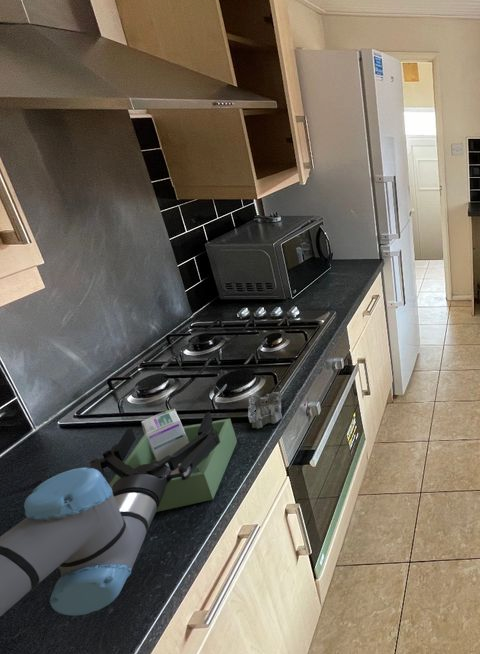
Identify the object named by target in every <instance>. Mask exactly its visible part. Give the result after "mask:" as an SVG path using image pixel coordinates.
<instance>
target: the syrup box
mask: <svg viewBox="0 0 480 654" xmlns="http://www.w3.org/2000/svg"><path fill="white" fill-rule="evenodd" d="M141 426H142V430H143V433H144V434H145V435H146V438H147V440H148V442H149V445H150V447H151V450H152V452H153V454H154V457H155V459H156V461H160V460H161V459H163V458H164V457H166V456H167V455H172V454H174V453H175V452H176V451H178V450H179V449H181V448H182V447H183V446H185V445H186V444H188V443H189V440H188V438H187V435H186V433H185V431H184V428H183V427H184V426H183V424H182V422H181V419H180V418H179V415H178V413H177V410H176V409H175V408H171V409H168V410H165V411H163V412H159V413H157V414H155V415H152V416H151V417H148V418H146V419H144V420H142V421H141ZM166 465H167V466H168V467H169V465H168V463H166ZM197 472H200V471H199V468H198V466H197V467H196V468H195V469H194V470H193V471H192V473H197ZM192 473H191V474H192Z"/></svg>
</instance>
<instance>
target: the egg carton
mask: <svg viewBox="0 0 480 654" xmlns="http://www.w3.org/2000/svg"><path fill="white" fill-rule="evenodd" d="M272 397H274V398H272ZM270 398H272V399H270ZM269 399H270V401H268V400H269ZM259 401H260V402H259ZM266 401H268V402H267V403H261V402H266ZM256 402H259V403H256ZM255 403H256V405H255ZM247 409H248V410H247V417H248V421H249V424H251V428H252V429H261V428H263V427H264V426H265V425H266V424H277V423H278V422H279V421H280V420H282V419H283V415H282V394H281V391H276V392H275V391H273V392H272V393H266V394H265V396H263V397H261V396H260V395H259V394H258V395H257V394H256V395H251V394H250V395H249V396H248V407H247ZM255 410H256V412H254V411H255ZM252 412H254V413H252Z"/></svg>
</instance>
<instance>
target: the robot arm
mask: <svg viewBox="0 0 480 654" xmlns="http://www.w3.org/2000/svg"><path fill="white" fill-rule="evenodd" d="M212 423H213V418H212V415H211V412H210V411H207V412H205V413H204V416H203V418H202V421H201V423H200V424H201V425H200V428H199V430H198V437H196V438H195V439H193V440H192V441H191V442H189V443H188V444H186V445H185V446H183V447H182V448H181V449H179V450H178V451H176V452H175V453H174V454H172V455H167V456H166V457H164V458H163V459H161V460H160V461H156V462H152V463H150V464H143V465H139V466H138V467H136V468H134V469H133V468H132V467H131V466H129V465H126V464H125V459H126V457H127V455H128V453H129V451H130V449H131V448H132V446H133V445H134V443H135V441H136V440H137V438H136V435H135V433H134V430H133V428H127V429H126V430H125V432H124V434H123V436H122V437H121V438H120V440H119V441H118V443H116V444H114V445H113V446H112V447H111V448H110V450H106V451H103V452H102V456H103V457H102V458H100V459H99V458H94V459H91V460H90V462H89V465H90V467H77V468H72V469H69V470H65V471H63V472H60V473H57V474H55V475H54V476H52V477H50V478H48V479H46V480H45V481H43V482H41V483H40V484H39V485H38V486H36V487H35V488H34V489H33V490H32V492H31V494H29V495H28V496H27V497H26V499H25V500H24V504H23V507H24V516H25V518H24V519H23V520H21V521H20V522H18V523H17V524H16V525H14V526H13V527H11V528H10V529H8V531H6V532H4V533H3V534H2V535H1V536H0V617H2V616H3V615H4V614H5V613H6V612H8V610H10V609H11V608H12V607H13V606H14V605H15V604H16V603H18V602H19V601H20V600H21V599H22V598H23V597H24V596H26V595H27V594H28V593H29V592H30V591H32V590H33V589H34V588H35V587H36V586H38V585H39V584H40V583H41V582H42V581H44V580H45V579H46V578H47V577H48V576H50V574H52V573H53V572H54V571H55V570H56V569H57V568H58V569H59V571H60V577H59V578H58V580H56V582H55V584H54V587H53V588H54V589H53V590H52V592H51V595H50V598H49V603H50V606H51V608H52V609H53V610H54V611H55V612H56V613H58V614H60V615H65V616H83V615H88V614H90V613H92V612H93V613H94V612H97V611H100V610H102V609H104V608H106V607H107V606H109V605H110V604H111V603H112V602H114V601H115V600H116V599H117V598H118V597H119V595H120V593H121V591H122V589H123V588H124V585H125V583H126V581H127V579H128V578H129V577H130V576H131V574H132V570H133V567H134V565H135V563H136V560H137V557H138V556H139V553H140V550H141V548H142V545H143V542H144V540H145V538H146V536H147V533H148V530H149V529H150V527H151V524H152V521H153V519H154V517H155V515H156V513H157V512H156V510H157V508H158V506H159V504H160V502H161V499H162V497H163V495H164V492H165V488H166V485H167V483H168V482H169V481H171V479H172V478H178V477H181V478H182V480H186V479H188V478H189V477H190V475H191V473H192V471H193V470H194V469H195V468H196V467H197V466H198V465H199V464H200V463H201V462H202V460H203V459H204V458H205V457H206V456H207V455H208V454H209V453H210V452H211V451H212V450H213V449H214V448H215V447H216V446H217V445H218V444H219V443H220V439H219V436H218V433H217V432H213V431H214V428H213V425H212ZM166 463H168V465H169V467H168V466H167V465H166ZM106 468H107V469H110V470H111V471H112V472H113V473H115V475H116V474H117V475H118V476H120V477H121V479H119V480H118V481H117V482H115V483H114V484H113V486H111V485H110V482H108V481H107V478H106V474H105V470H104V469H106Z"/></svg>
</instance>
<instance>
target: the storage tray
mask: <svg viewBox="0 0 480 654" xmlns="http://www.w3.org/2000/svg"><path fill="white" fill-rule="evenodd" d="M212 421H213V420H212ZM200 425H201V423H196V424H191V425H185V426H183V428H184V431H185V433H186V435H187V438H188V440H189V442H191V441H192V440H193V439H195V438H196V437H198V430H199V428H200ZM212 425H213V428H214V431H213V432H217V433H218V436H219V439H220V443H219V444H218V445H217V446H216V447H215V448H214V449H213V450H212V451H211V452H210V453H209V454H208V455H207V456H206V457H205V458H204V459H203V460H202V462H201V463H200V464H199V465H198V468H199V471H200V472H197V473H192V474H191V475H190V477H189V478H188V479H186V480H182V478H181V477H178V478H172V479H171V481H169V482H168V483H167V485H166V488H165V492H164V495H163V497H162V499H161V502H160V504H159V506H158V508H157V510H156V513H159V512H163V511H167V510H172V509H177V508H181V507H186V506H190V505H195V504H198V503H199V504H200V503H203V502H208V501H212V500H214V498H215V496H216V494H217V491H218V489H219V487H220V485H221V481H222V479H223V477H224V475H225V472H226V470H227V467H228V464H229V462H230V460H231V458H232V455H233V452H234V451H235V448H236V445H237V443H238V441H237V437H236V434H235V430H234V427H233V424H232V420H231V418H225V419H219V420H214V421H213V423H212ZM152 462H156V459H155V457H154V454H153V452H152V450H151V447H150V445H149V442H148V440H147V438H146V435H145V433H144V434H143V436H142V437H141V438H140V440H139V442H138V443H137V444H136V445H135V447H134V449H133V450H132V451H131V453H130V454H129V455H128V457H127V458H126V460H124V463H125V464H126V465H129V466H131V467H132V468H133V469H134V468H136V467H138V466H139V465H143V464H150V463H152ZM119 479H121V477H120V476H118V475H117V474H116V473H115V475H114V477H113V478H112V479H111V481H110V482H109V484H110V485H111V486H113V484H114V483H115V482H117V481H118V480H119Z"/></svg>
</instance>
